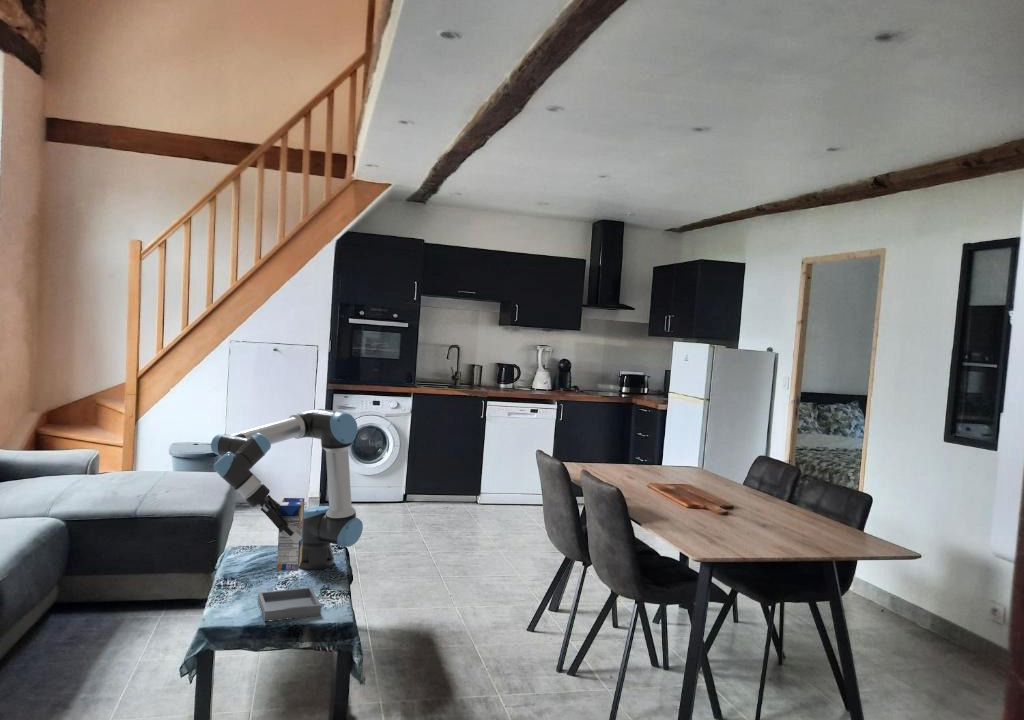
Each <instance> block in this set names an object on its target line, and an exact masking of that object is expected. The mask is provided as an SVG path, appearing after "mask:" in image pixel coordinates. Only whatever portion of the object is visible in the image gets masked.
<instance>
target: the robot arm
mask: <svg viewBox="0 0 1024 720" xmlns="http://www.w3.org/2000/svg"><path fill="white" fill-rule="evenodd" d="M356 435H358V423H357V420H356V419H355V417H354V416H353V415H352V414H351V413H348V412H344V411H341V410H339V411H337V410H331V409H324V408H314V409H310V410H305V411H301V412H298V413H294V414H292V415H290V416H289V417H288V418H287V419H283V420H279V421H275V422H272V423H268V424H264V425H261V426H258V427H257V426H256V427H254V428H250V429H247V430H243V431H239V432H234V433H231V434H227V433H224V434H223V433H219V434H217V435H215V436H214V437H213V438H212V440H211V443H210V449H211V451H212V452H213V454H215V455H216V456H217V455H218V456H220V458H218V460H217V461H215V463H213V470H214V471H215V472H216V473H217V474H218V475H219V477H221V478H222V479H223V480H224V481H225V482H226V483H227V484H228V485H230V486H231V487H232V488H233V489H234V491H236V495H240V496H241V497H242V498H243V499H245V501H246V502H247V503H248V504H249V505H250V506H251V507H256V506H257V505H259V506H260V507H261V508H260V511H261V512H263V513H264V514H265V515H266V517H267V518H268V519H269V520H270V521H271V523H273V524H274V525H275V527H276V528H277V529H278V533H279V532H282V531H283V532H284V533H285V534H286V535H287V536H288V537H289V538H291V539H292V540H293V541H294V542H295V543H296V544H297V543H298V542H299V541H300V540H301V539H302V537H301V536H300V535H299V534H298V533H297V532H296V531H295V530H294V529H293V528H292V527H291V526H290V525H289V524H287V523H286V522H285V521H284V520H283V519H282V518H281V517H280V516H279V513H280V504H281V503H278V502H277V501H276V500H275V499H273V497H271V495H269V494H270V489H269V488H268V487H267V486H266V485H265V484H264V483H262V481H261V480H260V479H259V478H258V477H257V476H256V475H255V474H254V473H253V472H251V471H250V470H251V469H252V468H253V467H254V466H255V465H256V464H257V463H258V462H260V460H262V458H263V457H264V456H265V455H266V454H267V453H268V451H270V450H271V448H272V445H274V444H277V443H280V442H283V441H286V440H290V439H296V440H298V439H299V440H300V439H303V438H313V439H319V440H320V445H321V448H322V449H323V450H324V451H325V461H326V474H327V476H326V477H327V489H328V490H327V492H328V493H327V495H328V505H321V506H320V505H319V506H312V507H311V506H310V507H308V508H304V520H303V542H302V561H301V564H300V568H299V569H304V570H323V569H328V568H330V567H333V566H334V564H335V556H334V552H333V549H332V546H331V544H332V545H335V546H338V547H345V548H346V547H347V548H350V547H353V546H354V545H355V544H356V543H357V542H358V541H359V540H360V538H361V537H362V534H363V529H364V525H363V522H362V520H361V519H360V518H359V517H357V512H356V511H357V510H356V508H354V506H352V492H351V491H352V490H351V474H350V473H351V472H350V458H349V457H350V456H349V453H350V452H349V449H350V448H351V446H352V445H353V441H354V440H355V439H356ZM327 567H328V568H327Z"/></svg>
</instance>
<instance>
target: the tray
mask: <svg viewBox="0 0 1024 720" xmlns="http://www.w3.org/2000/svg"><path fill="white" fill-rule="evenodd" d="M257 595H258V597H257V598H258V599H257V603H259V604H258V606H259V605H260V607H259V609H260V608H261V610H260V612H261V611H262V613H261V615H262V614H263V616H262V618H263V617H264V619H263V621H264V620H265V621H269V620H278V619H287V618H288V619H287V620H290V619H289V618H295V619H300V618H299V617H304V618H308V617H307V616H312V617H318V615H322V604H321V603H320V600H319V598H318V597H317V595H316V593H315V591H314V589H313V588H312V587H311V586H309V587H308V586H307V587H299V588H289V589H280V590H271V591H259V592H258V593H257ZM297 617H298V618H297Z"/></svg>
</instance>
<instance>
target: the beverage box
mask: <svg viewBox="0 0 1024 720" xmlns="http://www.w3.org/2000/svg"><path fill="white" fill-rule="evenodd" d="M279 504H280V513H279V516H280V517H281V518H282V519H283V520H284V521H285V522H286V523H287V524H289V525H290V526H291V527H292V528H293V529H294V530H295V531H296V532H297V533H298V534H299V535H300V536H301V537H302V539H301V540H300V541H299V542H298V543H297V544H296V543H295V542H294V541H293V540H292V539H291V538H289V537H288V536H287V535H286V534H285V533H284V532H283V531H282V532H279V531H278V535H277V536H278V537H277V538H278V542H277V558H276V559H277V561H276V562H277V563H276V571H277V572H283V571H285V572H291V571H292V572H296V571H297V572H299V569H300V568H299V567H300V564H301V561H302V542H303V520H304V510H305V497H302V498H301V497H283V499H282V501H281V503H279Z"/></svg>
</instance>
